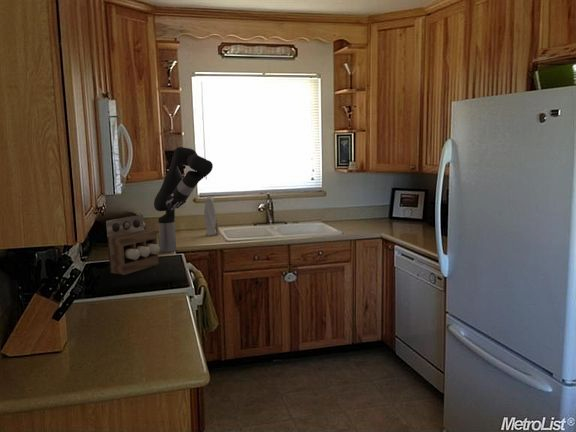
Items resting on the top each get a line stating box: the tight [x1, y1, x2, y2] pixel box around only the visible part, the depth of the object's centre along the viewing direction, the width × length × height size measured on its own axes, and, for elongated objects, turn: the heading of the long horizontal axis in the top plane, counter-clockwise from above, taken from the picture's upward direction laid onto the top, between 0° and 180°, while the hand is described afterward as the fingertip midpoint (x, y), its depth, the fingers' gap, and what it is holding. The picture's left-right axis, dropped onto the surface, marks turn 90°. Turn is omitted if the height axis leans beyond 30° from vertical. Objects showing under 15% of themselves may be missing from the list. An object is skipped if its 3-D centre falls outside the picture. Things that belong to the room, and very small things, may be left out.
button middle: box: [136, 246, 150, 257], centre depth 249 cm, size 7×5×5 cm
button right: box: [146, 243, 161, 255], centre depth 255 cm, size 7×5×5 cm
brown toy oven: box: [105, 214, 160, 276], centre depth 252 cm, size 10×23×26 cm, turn 148°
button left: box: [124, 248, 140, 260], centre depth 244 cm, size 7×5×5 cm
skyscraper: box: [202, 194, 220, 237], centre depth 343 cm, size 8×8×28 cm
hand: (167, 213), depth 249 cm, fingers closed
